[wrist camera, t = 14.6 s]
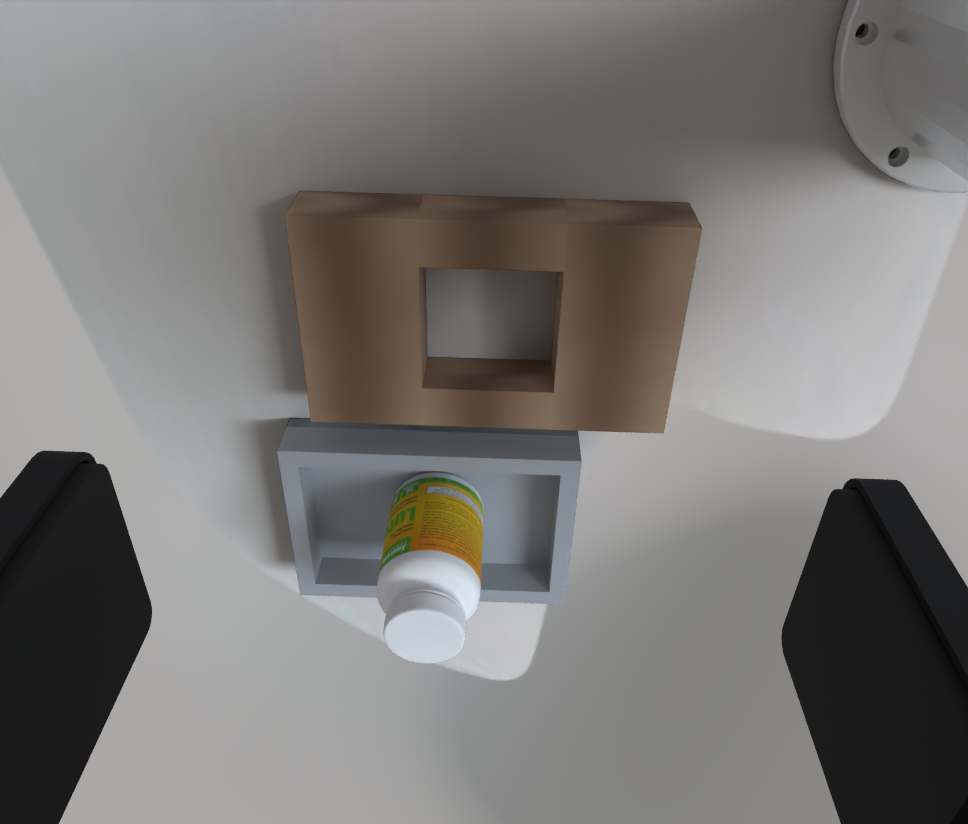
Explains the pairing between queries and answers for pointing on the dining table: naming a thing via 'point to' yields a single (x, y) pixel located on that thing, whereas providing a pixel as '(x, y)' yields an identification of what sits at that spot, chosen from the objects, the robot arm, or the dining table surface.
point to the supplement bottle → (431, 566)
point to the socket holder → (497, 246)
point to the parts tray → (417, 450)
